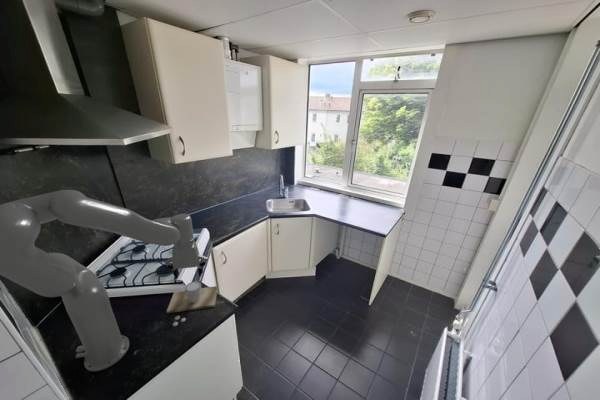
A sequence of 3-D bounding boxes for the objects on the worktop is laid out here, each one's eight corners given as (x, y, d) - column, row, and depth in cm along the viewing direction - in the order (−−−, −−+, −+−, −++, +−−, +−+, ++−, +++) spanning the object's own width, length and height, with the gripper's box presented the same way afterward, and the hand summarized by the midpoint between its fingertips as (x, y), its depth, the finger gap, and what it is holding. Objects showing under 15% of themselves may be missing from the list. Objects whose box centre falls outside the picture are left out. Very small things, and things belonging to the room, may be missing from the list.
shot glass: (198, 290, 109) (196, 279, 107) (205, 297, 105) (203, 286, 103) (184, 298, 104) (182, 286, 102) (191, 306, 100) (189, 294, 98)
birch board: (167, 313, 98) (166, 311, 97) (174, 293, 109) (174, 291, 108) (214, 306, 102) (214, 304, 102) (217, 287, 113) (217, 286, 113)
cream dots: (171, 326, 92) (171, 326, 92) (175, 316, 96) (175, 316, 96) (184, 324, 93) (184, 324, 93) (187, 314, 98) (187, 314, 97)
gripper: (158, 248, 88) (164, 283, 94) (204, 245, 92) (208, 279, 98) (164, 239, 95) (170, 271, 101) (207, 236, 99) (210, 268, 105)
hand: (188, 275), depth 100 cm, fingers open, 9 cm apart
